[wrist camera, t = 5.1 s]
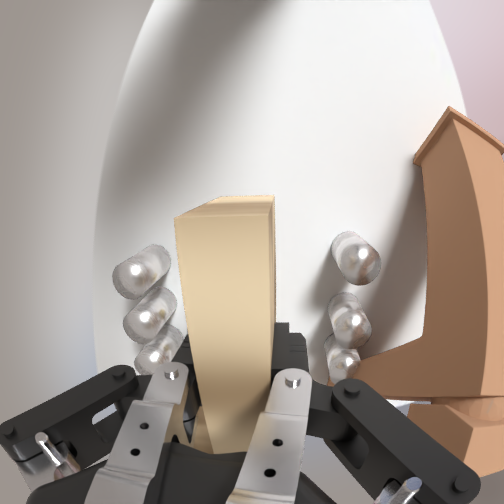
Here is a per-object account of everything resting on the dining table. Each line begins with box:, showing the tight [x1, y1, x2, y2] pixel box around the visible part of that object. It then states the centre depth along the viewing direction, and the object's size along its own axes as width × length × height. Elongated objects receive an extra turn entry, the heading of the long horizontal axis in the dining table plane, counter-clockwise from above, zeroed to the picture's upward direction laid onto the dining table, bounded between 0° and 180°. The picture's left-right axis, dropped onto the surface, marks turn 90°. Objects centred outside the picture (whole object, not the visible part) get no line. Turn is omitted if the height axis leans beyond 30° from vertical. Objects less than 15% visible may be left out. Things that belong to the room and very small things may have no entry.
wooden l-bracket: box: [174, 195, 276, 454], centre depth 12 cm, size 14×9×6 cm, turn 2°
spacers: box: [112, 231, 381, 384], centre depth 25 cm, size 14×22×6 cm, turn 92°
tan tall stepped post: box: [327, 106, 504, 477], centre depth 21 cm, size 7×23×25 cm
